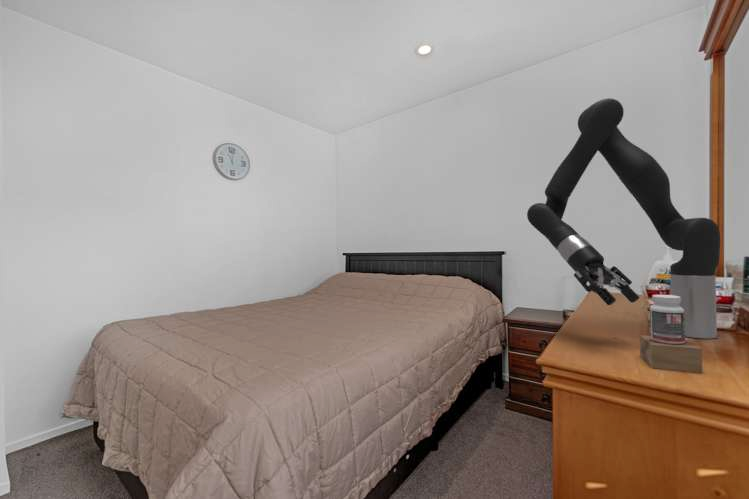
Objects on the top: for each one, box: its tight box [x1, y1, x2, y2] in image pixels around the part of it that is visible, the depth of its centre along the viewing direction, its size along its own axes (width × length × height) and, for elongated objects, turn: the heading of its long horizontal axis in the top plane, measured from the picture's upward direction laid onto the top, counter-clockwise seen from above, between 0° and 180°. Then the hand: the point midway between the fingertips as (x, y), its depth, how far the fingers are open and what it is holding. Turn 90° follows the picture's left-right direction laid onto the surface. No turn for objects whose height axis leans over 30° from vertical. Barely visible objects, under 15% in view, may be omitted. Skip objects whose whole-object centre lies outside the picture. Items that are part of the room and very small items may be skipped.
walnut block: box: [639, 334, 703, 374], centre depth 71 cm, size 8×8×5 cm
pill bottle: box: [649, 294, 686, 344], centre depth 71 cm, size 6×6×10 cm
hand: (624, 301), depth 79 cm, fingers open, 8 cm apart
